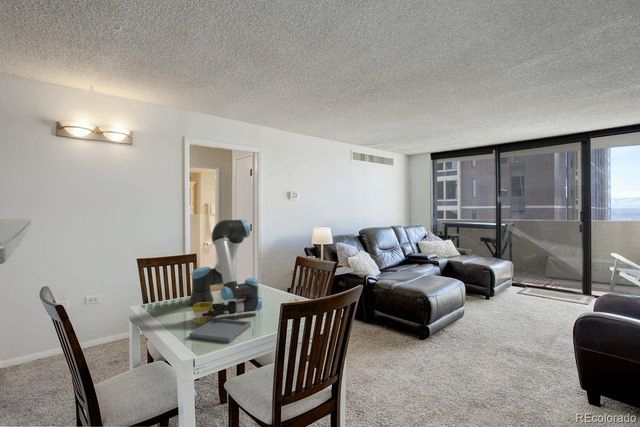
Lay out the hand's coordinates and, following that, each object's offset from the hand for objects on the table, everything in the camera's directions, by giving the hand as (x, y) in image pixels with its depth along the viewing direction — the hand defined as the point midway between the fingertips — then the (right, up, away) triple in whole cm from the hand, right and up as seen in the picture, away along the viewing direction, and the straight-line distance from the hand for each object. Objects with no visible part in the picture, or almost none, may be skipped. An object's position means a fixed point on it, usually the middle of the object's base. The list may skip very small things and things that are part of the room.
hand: (194, 312), depth 176 cm
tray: (+19, -6, -12) cm, 23 cm away
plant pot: (+4, -6, +2) cm, 8 cm away
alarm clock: (+14, -5, +51) cm, 53 cm away
